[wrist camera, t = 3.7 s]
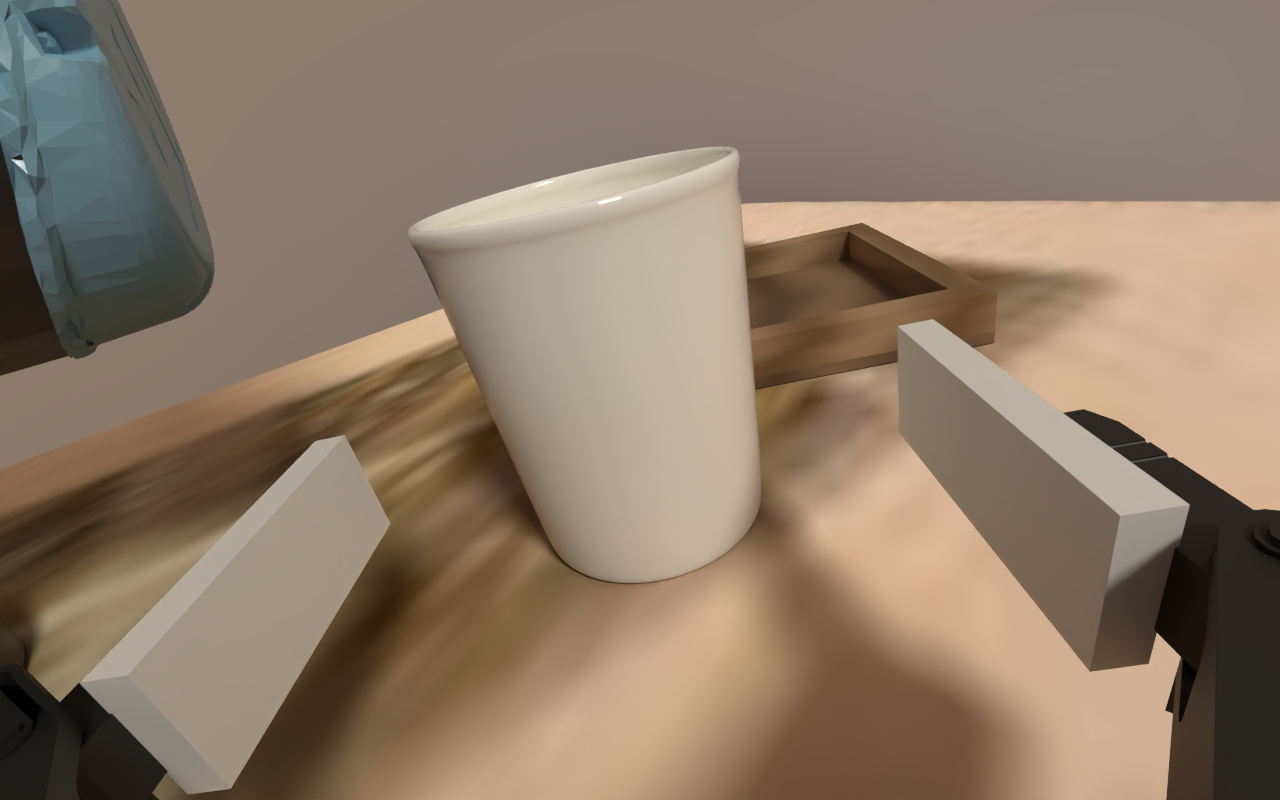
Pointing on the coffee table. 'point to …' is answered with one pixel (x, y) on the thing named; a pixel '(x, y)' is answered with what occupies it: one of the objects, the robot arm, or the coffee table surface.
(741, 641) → the coffee table surface
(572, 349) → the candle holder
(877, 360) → the walnut tray
